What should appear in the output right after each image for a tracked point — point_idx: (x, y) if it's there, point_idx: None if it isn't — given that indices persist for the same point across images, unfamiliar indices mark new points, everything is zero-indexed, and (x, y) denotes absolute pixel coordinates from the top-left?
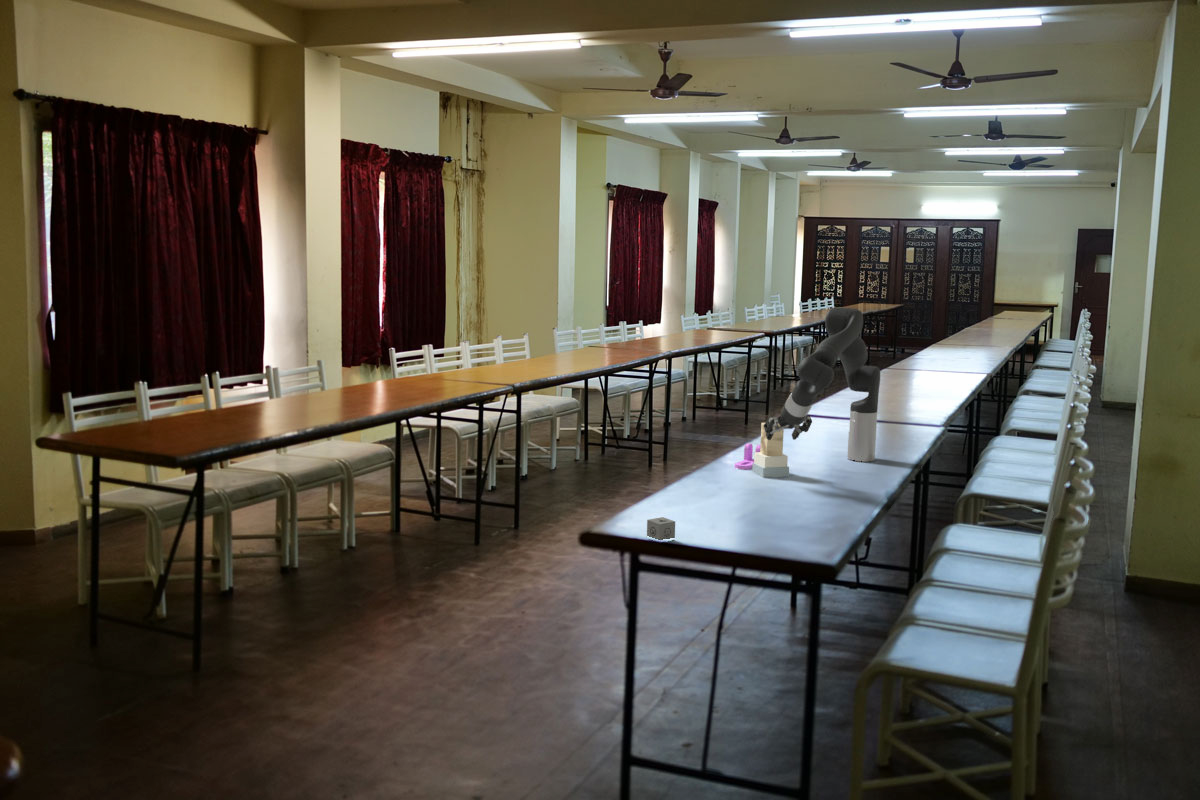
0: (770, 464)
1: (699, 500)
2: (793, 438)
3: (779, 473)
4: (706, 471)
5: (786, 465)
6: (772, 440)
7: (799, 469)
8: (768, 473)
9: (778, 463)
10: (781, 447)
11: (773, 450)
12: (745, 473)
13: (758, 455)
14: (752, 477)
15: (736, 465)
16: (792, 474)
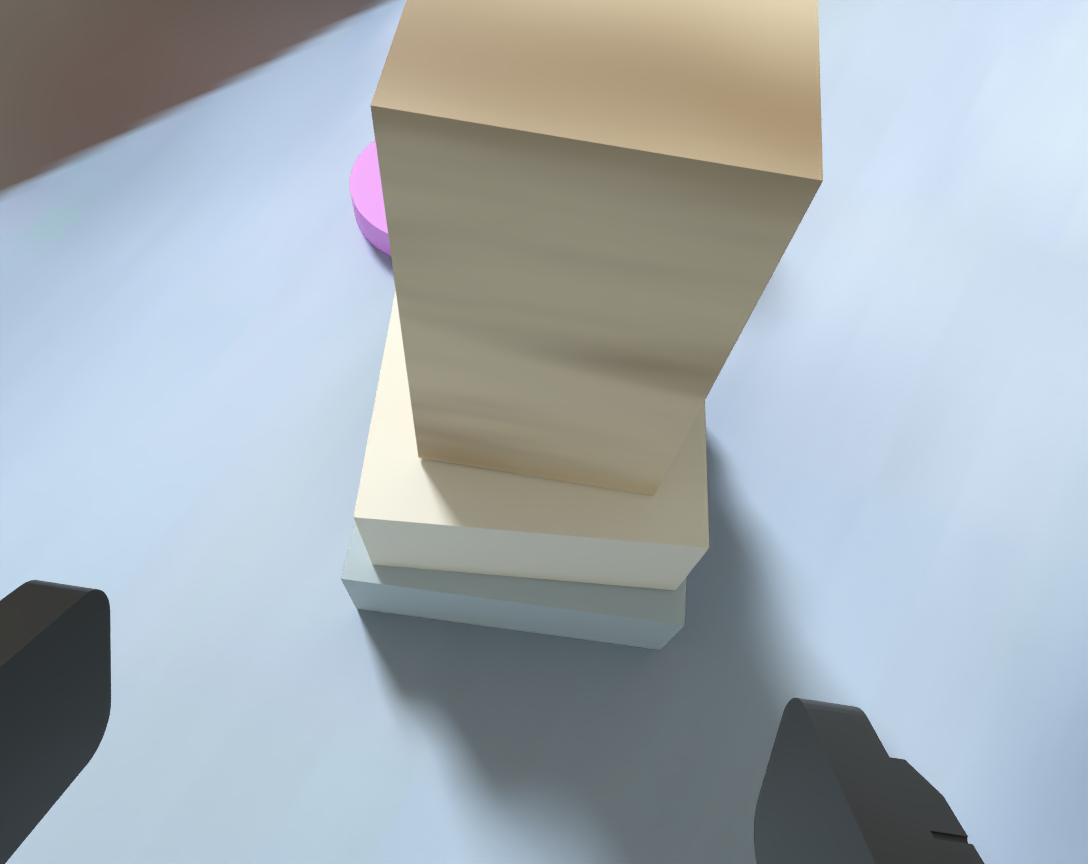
0: (445, 560)
1: None
2: (765, 840)
3: (551, 626)
4: (15, 221)
5: (667, 585)
6: (502, 356)
7: (907, 401)
8: (417, 604)
9: (558, 567)
10: (657, 442)
11: (521, 441)
12: (303, 391)
13: (388, 341)
14: (249, 570)
15: (350, 190)
16: (745, 572)
